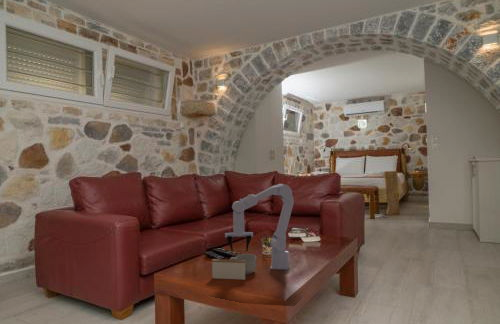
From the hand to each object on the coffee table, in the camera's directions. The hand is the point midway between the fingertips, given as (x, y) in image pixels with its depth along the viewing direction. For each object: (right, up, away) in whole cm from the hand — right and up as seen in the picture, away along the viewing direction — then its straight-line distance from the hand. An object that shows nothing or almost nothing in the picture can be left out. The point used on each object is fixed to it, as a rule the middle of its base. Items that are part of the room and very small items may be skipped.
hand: (239, 250), depth 172 cm
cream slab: (-5, -10, -11) cm, 16 cm away
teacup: (+2, -11, -3) cm, 11 cm away
